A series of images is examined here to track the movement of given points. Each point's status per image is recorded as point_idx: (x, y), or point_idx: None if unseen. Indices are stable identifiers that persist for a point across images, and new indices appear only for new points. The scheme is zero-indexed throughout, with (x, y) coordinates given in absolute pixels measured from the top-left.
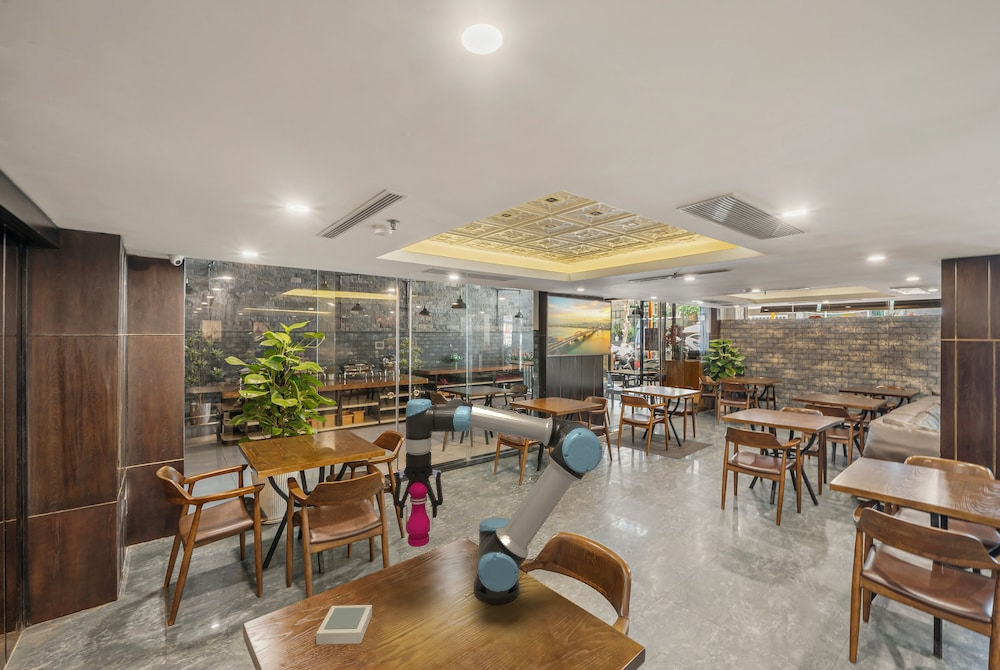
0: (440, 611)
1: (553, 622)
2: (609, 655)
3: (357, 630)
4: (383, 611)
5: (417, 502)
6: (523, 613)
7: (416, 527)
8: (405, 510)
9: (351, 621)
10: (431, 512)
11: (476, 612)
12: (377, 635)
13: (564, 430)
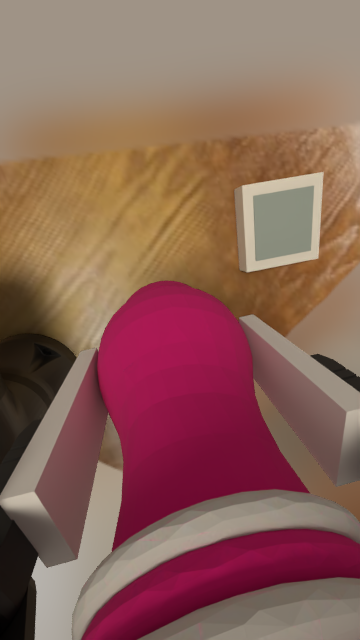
0: (120, 298)
1: None
2: None
3: (250, 190)
4: (223, 282)
5: (222, 551)
6: None
7: (165, 302)
8: (331, 394)
9: (269, 214)
10: (36, 443)
11: (50, 307)
12: (211, 216)
13: None
